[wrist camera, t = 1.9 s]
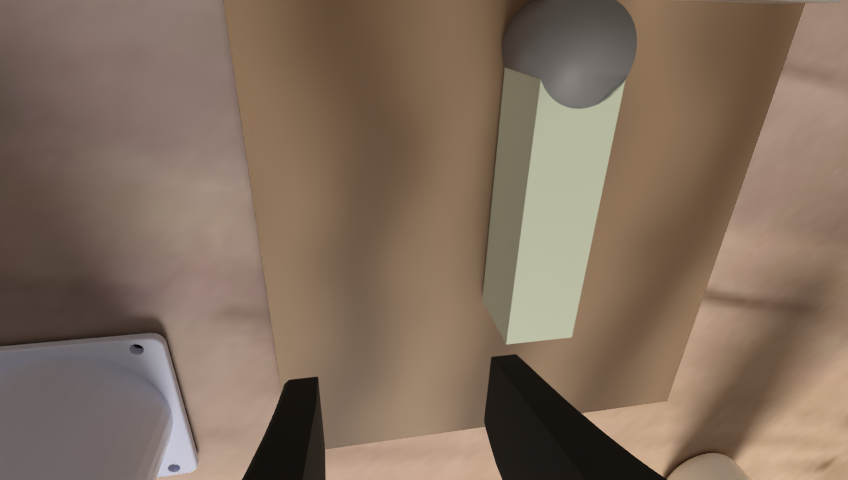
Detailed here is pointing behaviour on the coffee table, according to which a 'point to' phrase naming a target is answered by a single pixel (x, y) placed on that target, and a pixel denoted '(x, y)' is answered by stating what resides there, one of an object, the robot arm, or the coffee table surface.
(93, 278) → the coffee table surface
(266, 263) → the seat board
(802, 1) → the bracket
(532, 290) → the folding leg
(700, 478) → the drinking glass
